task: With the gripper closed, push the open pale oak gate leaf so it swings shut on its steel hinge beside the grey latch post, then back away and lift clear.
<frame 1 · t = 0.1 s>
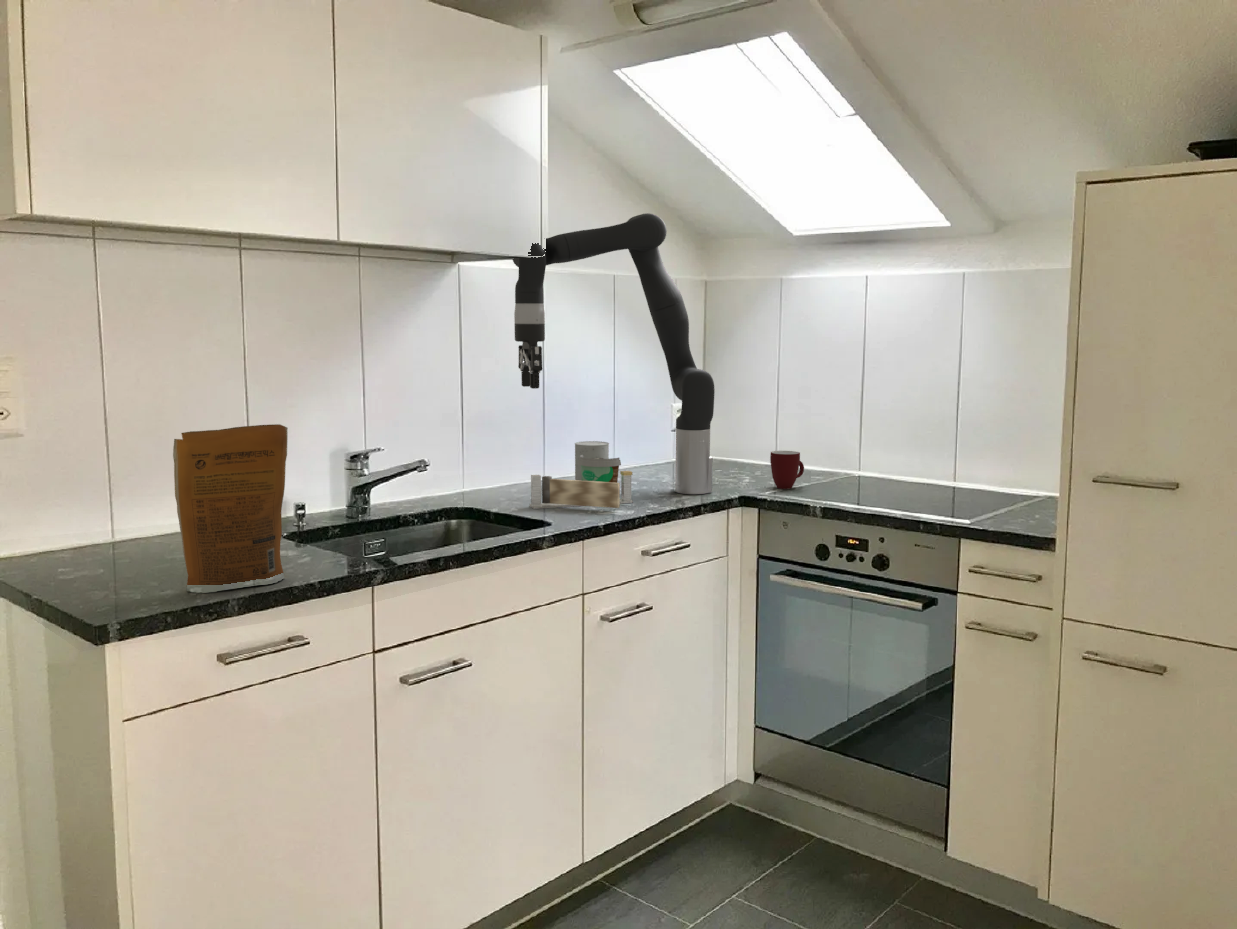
hand: (530, 387, 251), 29 cm above the counter, tool pointing down, fingers open, 8 cm apart
food container: (595, 495, 266), on the counter
gate frame: (547, 506, 249), on the counter
pancake mix bag: (238, 588, 173), on the counter
mug: (787, 488, 278), on the counter
grey cylindrical canister: (591, 487, 279), on the counter
gate: (580, 491, 245), point 4 cm above the counter, hinge at -40.0°
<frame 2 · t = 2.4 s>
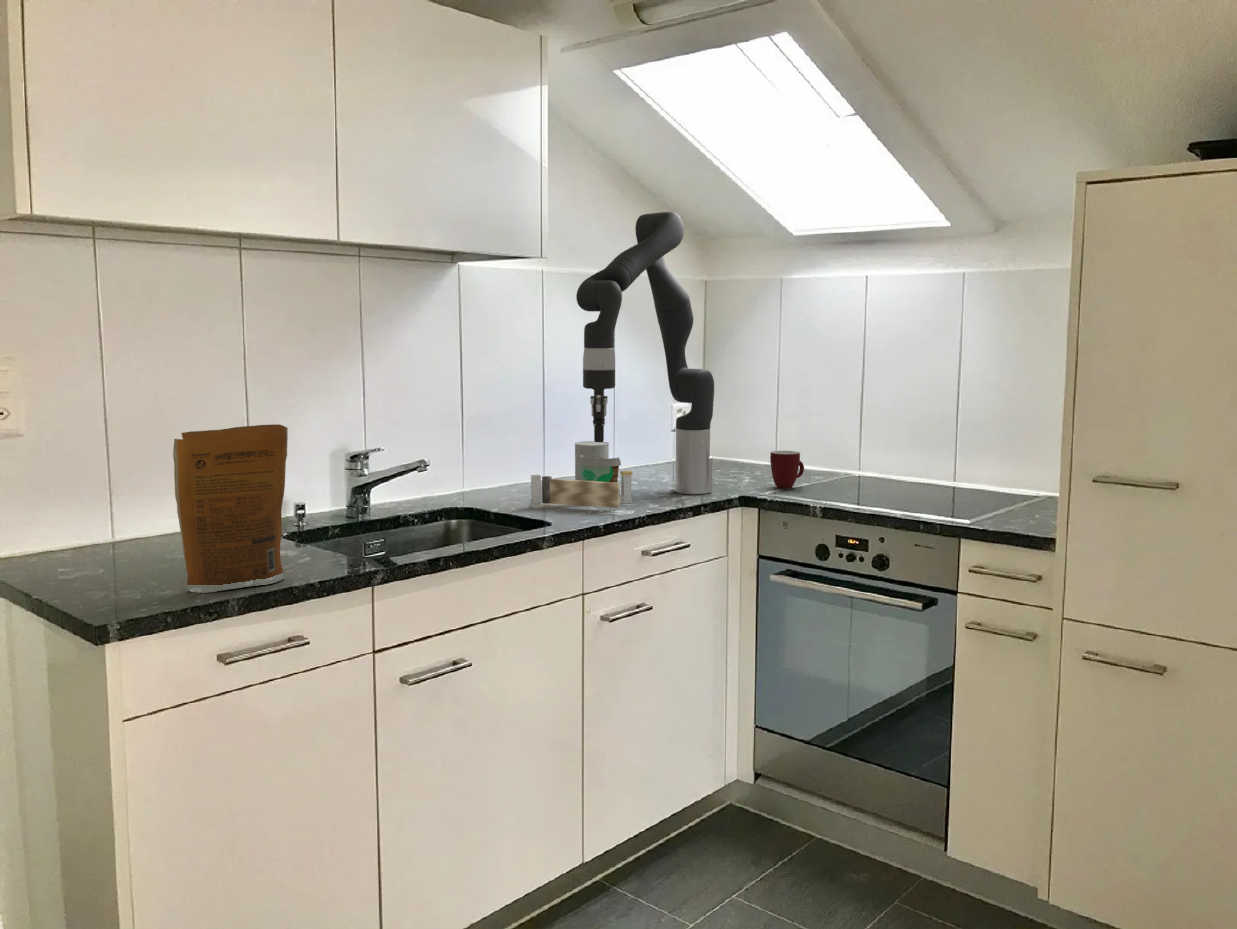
hand: (599, 441, 234), 18 cm above the counter, tool pointing down, fingers closed
nothing on the counter moved.
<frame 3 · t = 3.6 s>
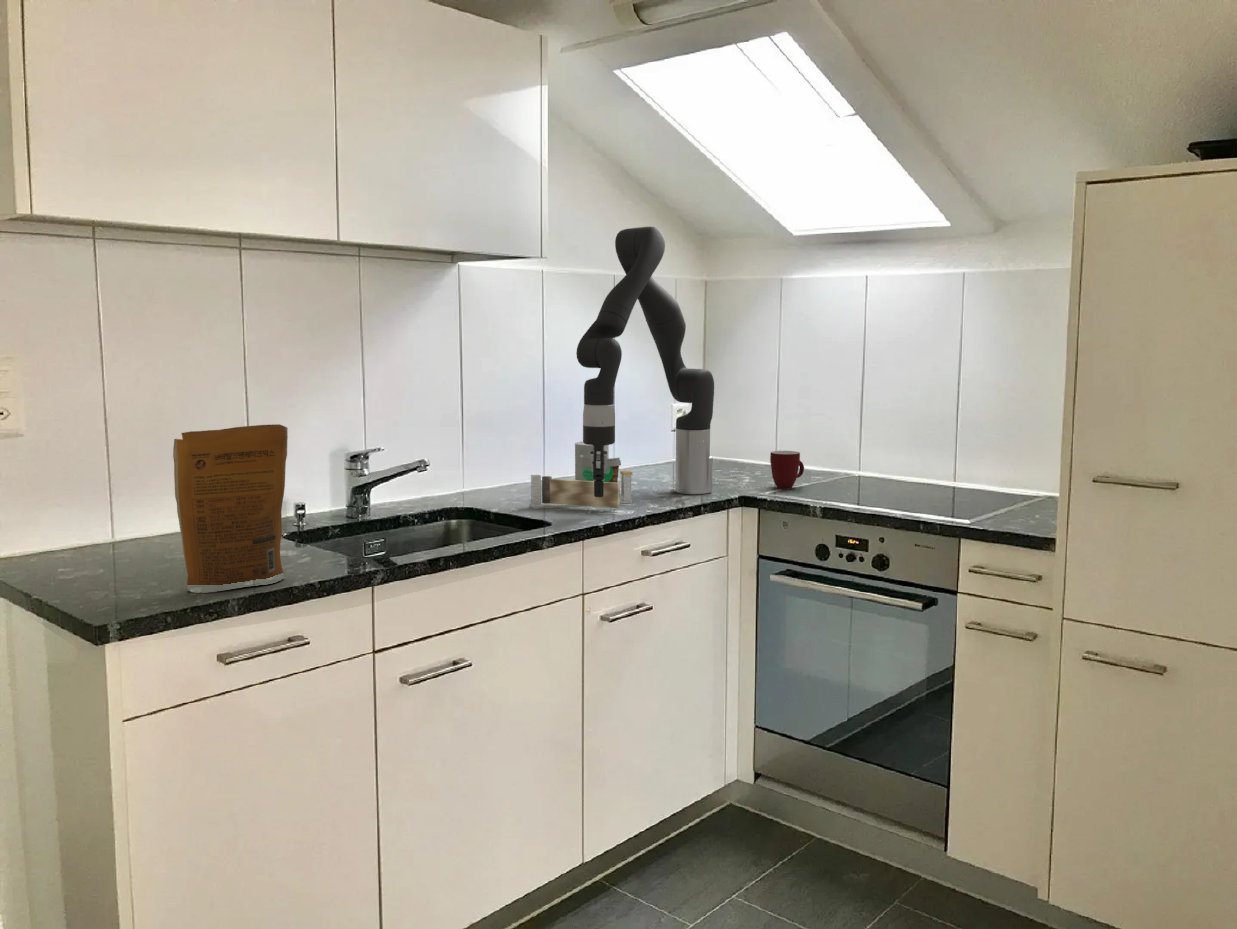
hand: (598, 496, 236), 5 cm above the counter, tool pointing down, fingers closed
nothing on the counter moved.
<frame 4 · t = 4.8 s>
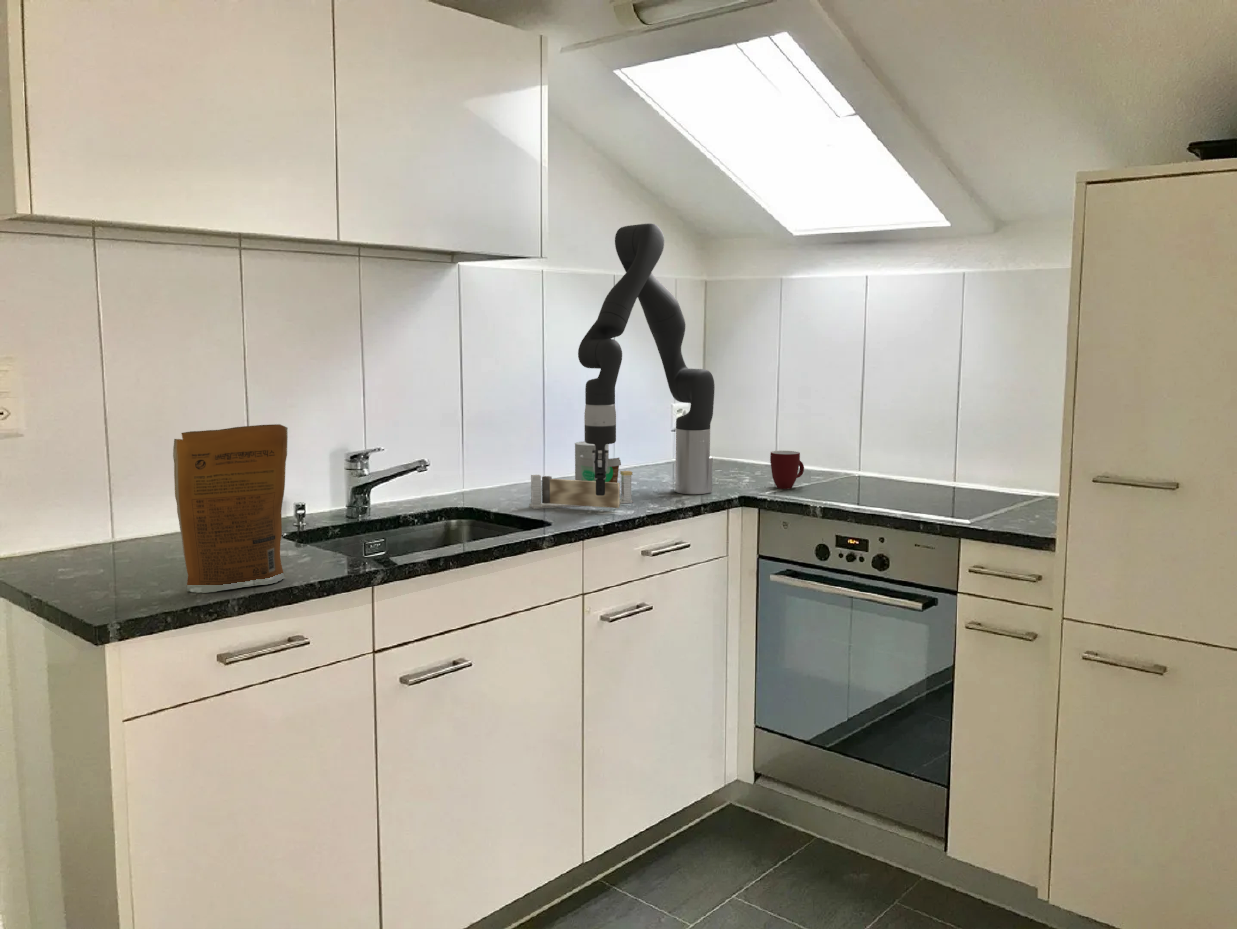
hand: (600, 494, 240), 4 cm above the counter, tool pointing down, fingers closed
gate: (580, 491, 245), point 4 cm above the counter, hinge at -40.0°, touching gripper
everything else where it was.
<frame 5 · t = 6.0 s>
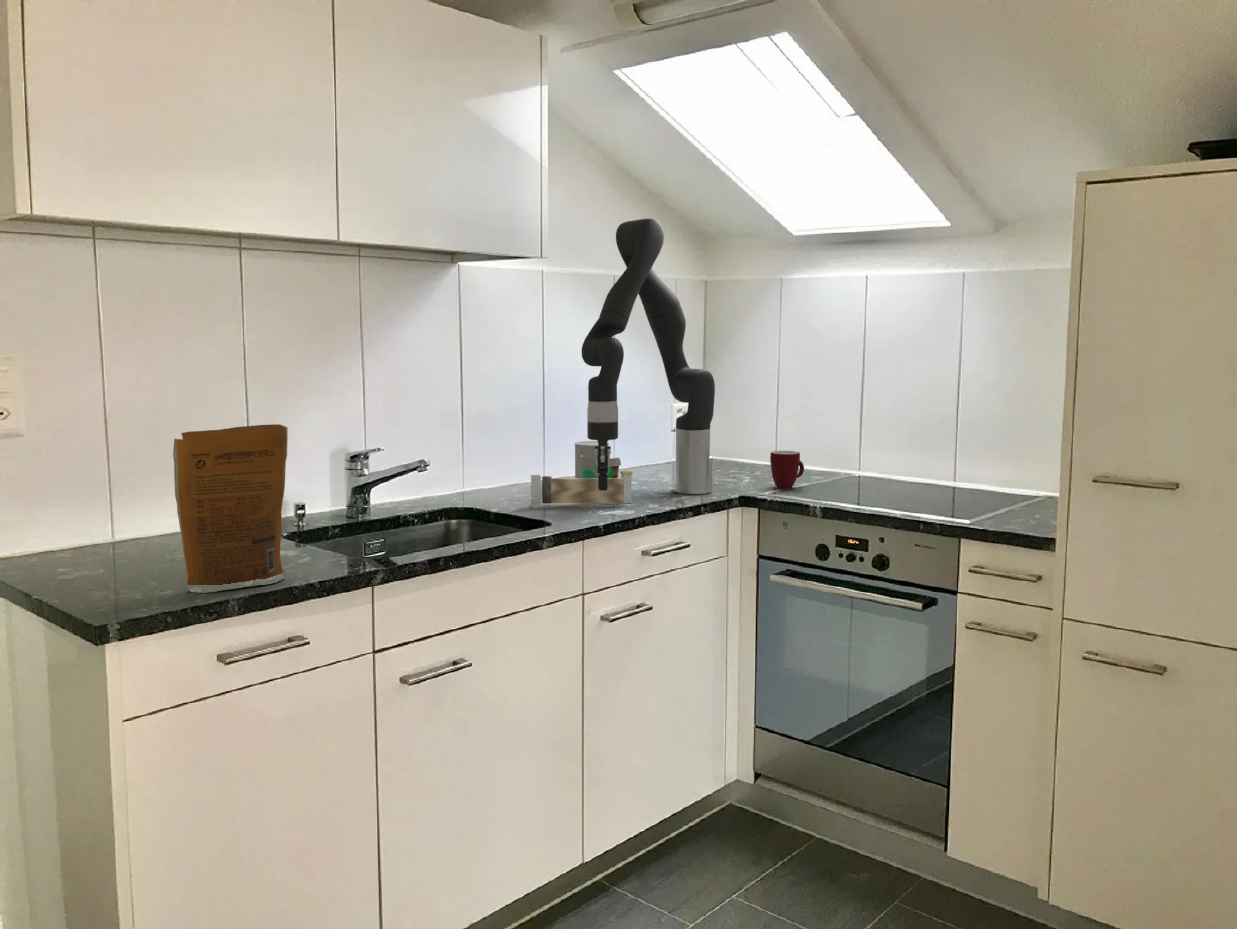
hand: (602, 489, 246), 5 cm above the counter, tool pointing down, fingers closed
gate: (582, 489, 248), point 4 cm above the counter, hinge at -18.1°, touching gripper
everything else where it was.
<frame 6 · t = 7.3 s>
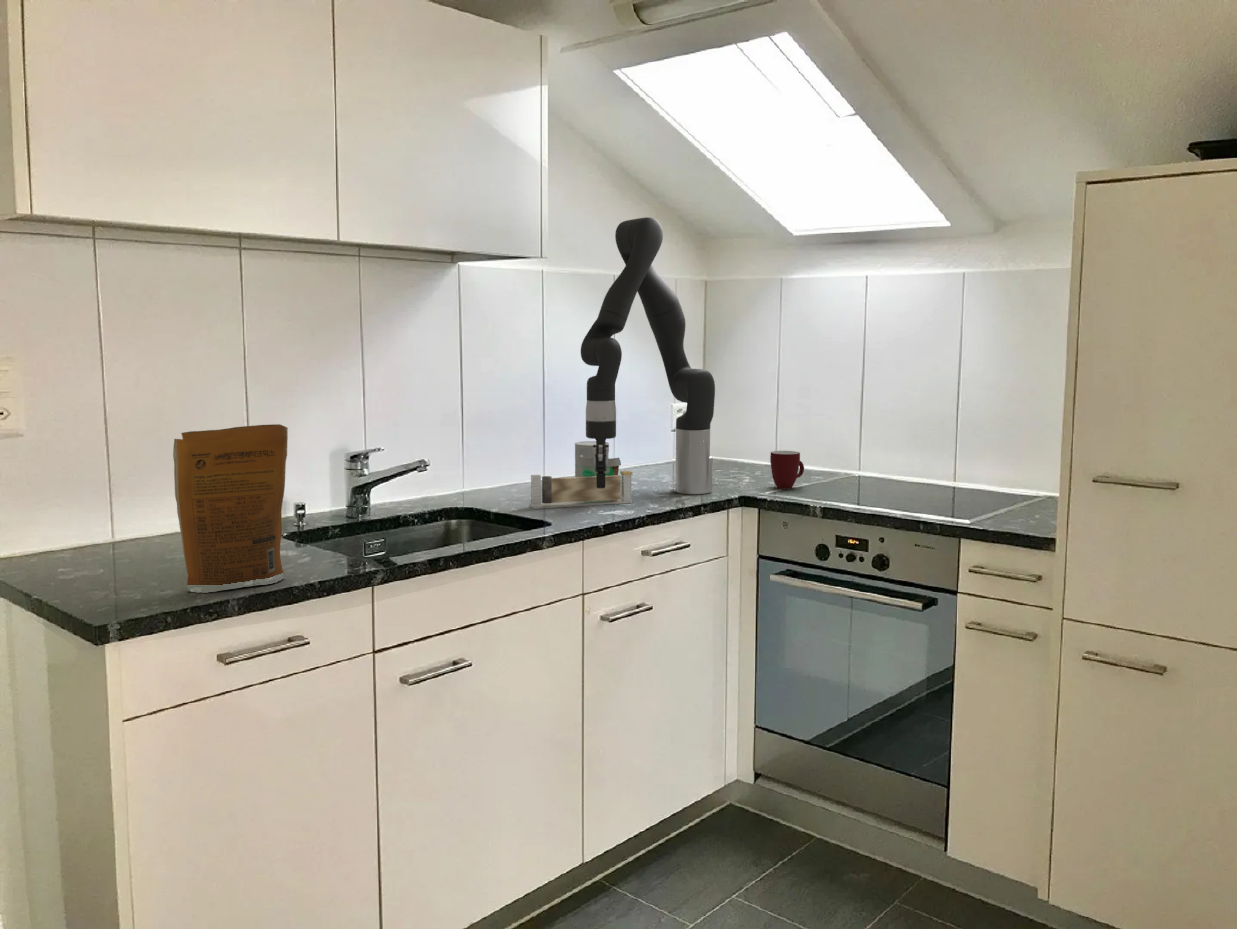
hand: (600, 487, 249), 5 cm above the counter, tool pointing down, fingers closed
gate: (581, 488, 251), point 4 cm above the counter, hinge at -2.8°, touching gripper
everything else where it was.
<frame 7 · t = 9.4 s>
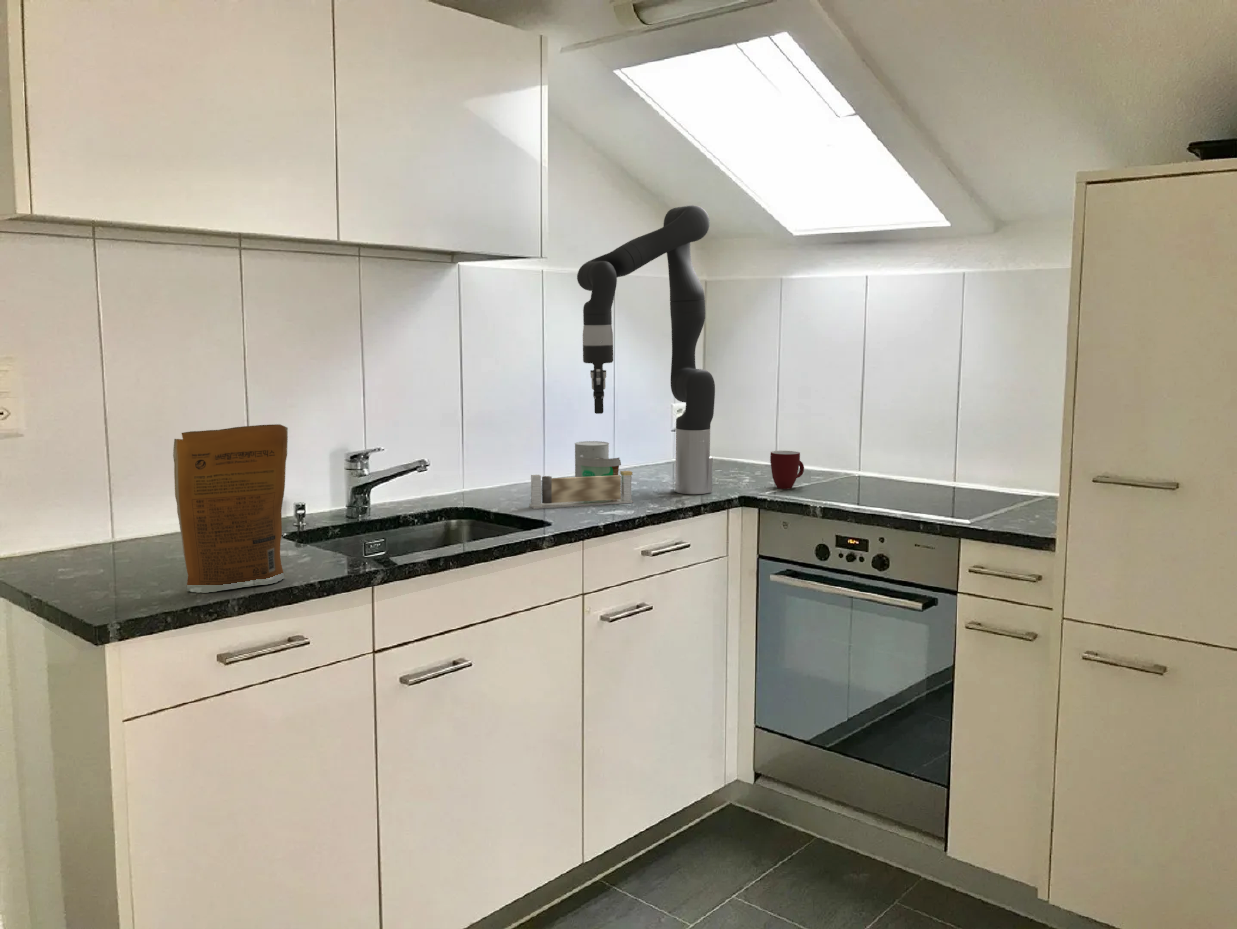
hand: (599, 413, 250), 23 cm above the counter, tool pointing down, fingers closed
gate: (581, 488, 251), point 4 cm above the counter, hinge at -2.7°
everything else where it was.
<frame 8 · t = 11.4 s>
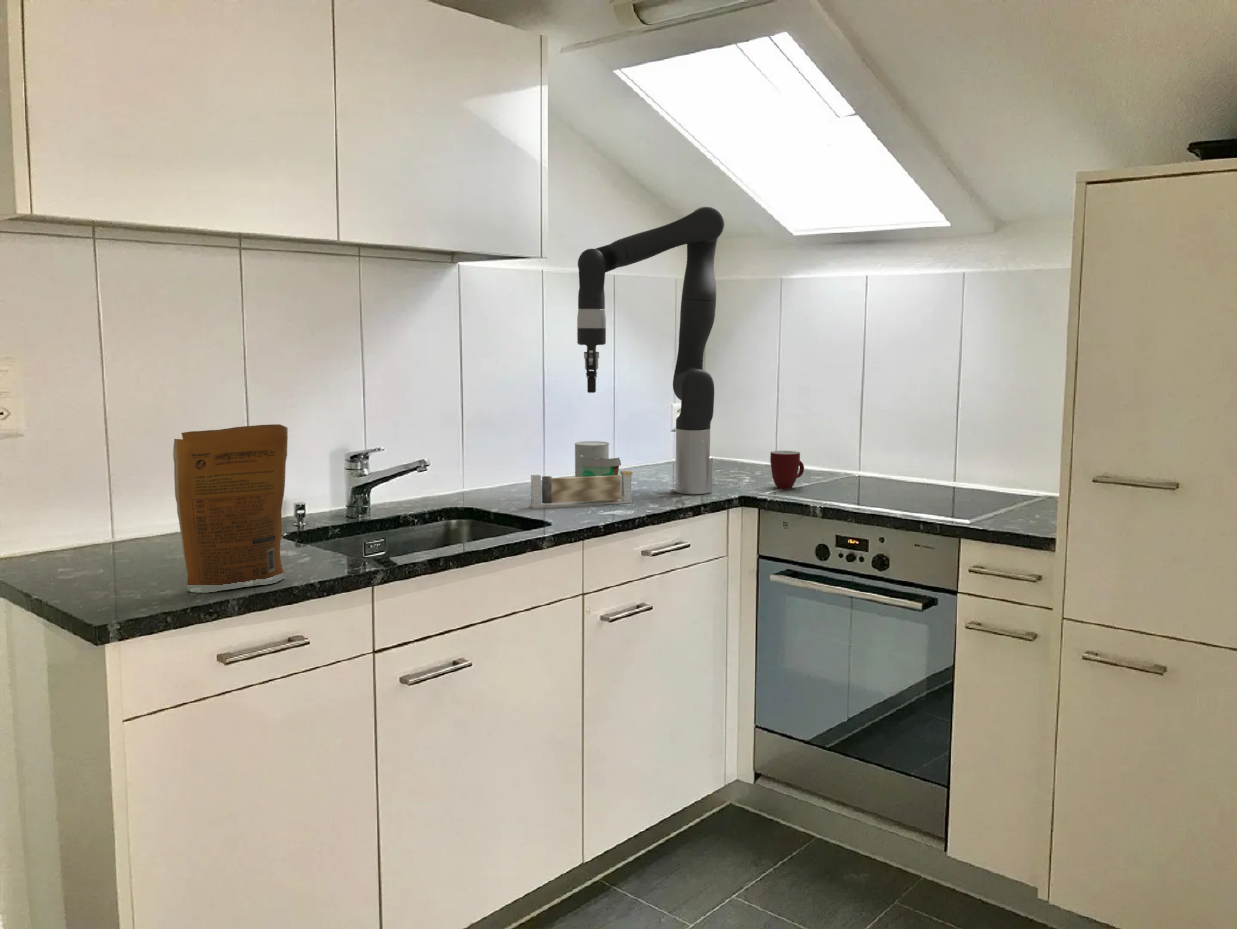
hand: (591, 392, 265), 27 cm above the counter, tool pointing down, fingers closed
nothing on the counter moved.
at the end: gate at -3° (first picture: -40°); food container moved 0.2 cm from its start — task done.
